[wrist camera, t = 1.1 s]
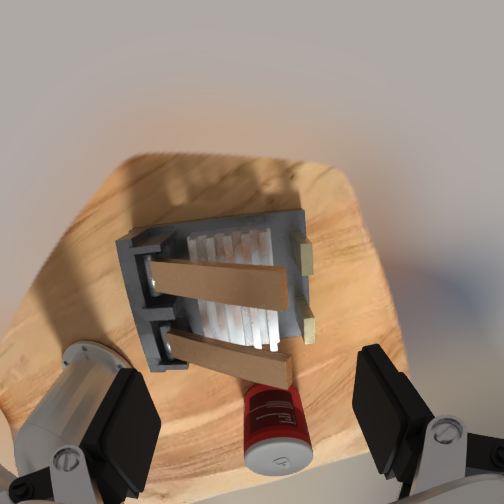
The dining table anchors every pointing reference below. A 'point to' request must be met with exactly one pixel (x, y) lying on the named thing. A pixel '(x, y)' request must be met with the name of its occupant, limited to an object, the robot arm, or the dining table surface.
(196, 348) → the strap
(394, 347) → the dining table surface
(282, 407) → the canned food
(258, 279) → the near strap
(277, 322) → the heatsink block
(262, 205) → the dining table surface
